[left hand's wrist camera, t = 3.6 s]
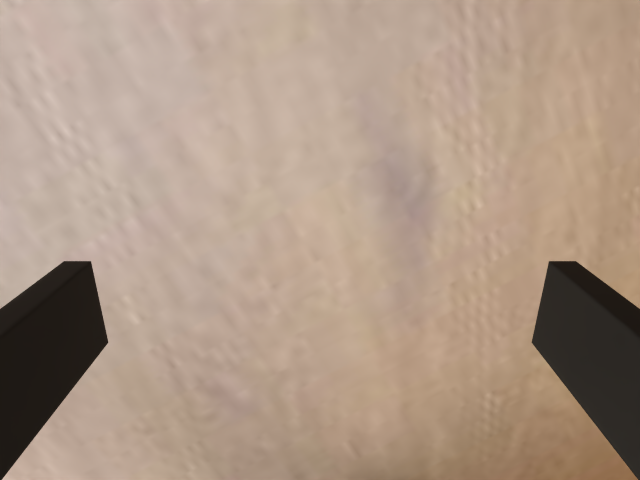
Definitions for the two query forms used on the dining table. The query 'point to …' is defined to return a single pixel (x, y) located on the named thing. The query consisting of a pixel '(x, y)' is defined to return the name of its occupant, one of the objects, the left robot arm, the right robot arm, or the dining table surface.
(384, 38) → the dining table surface
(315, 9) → the dining table surface
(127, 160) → the dining table surface
